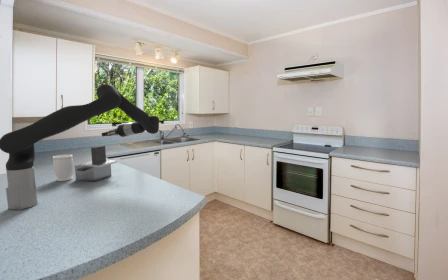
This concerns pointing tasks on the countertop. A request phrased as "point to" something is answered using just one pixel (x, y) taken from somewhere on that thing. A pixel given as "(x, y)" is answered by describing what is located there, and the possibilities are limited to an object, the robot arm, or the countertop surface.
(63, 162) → the jar
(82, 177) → the grey rectangular container
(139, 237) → the countertop surface
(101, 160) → the lid
